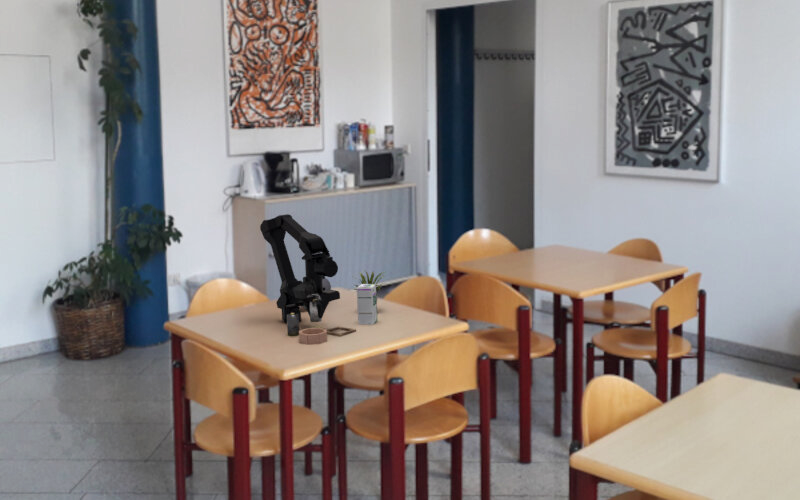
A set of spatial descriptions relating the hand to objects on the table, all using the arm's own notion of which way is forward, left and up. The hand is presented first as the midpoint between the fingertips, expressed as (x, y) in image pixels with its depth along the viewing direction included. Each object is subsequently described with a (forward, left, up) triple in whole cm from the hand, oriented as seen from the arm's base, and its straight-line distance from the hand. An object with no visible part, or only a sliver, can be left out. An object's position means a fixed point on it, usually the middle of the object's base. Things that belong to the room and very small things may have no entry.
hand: (315, 317), depth 313 cm
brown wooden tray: (+11, 0, -5) cm, 12 cm away
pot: (+10, -12, -5) cm, 17 cm away
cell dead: (0, -11, -4) cm, 12 cm away
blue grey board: (0, -5, -5) cm, 7 cm away
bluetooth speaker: (-28, +29, -5) cm, 41 cm away
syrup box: (+10, +16, -5) cm, 19 cm away
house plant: (-2, +33, -5) cm, 33 cm away
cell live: (0, 0, -1) cm, 1 cm away
